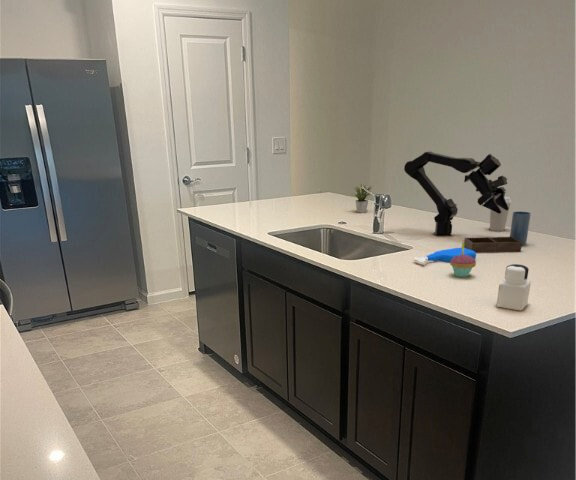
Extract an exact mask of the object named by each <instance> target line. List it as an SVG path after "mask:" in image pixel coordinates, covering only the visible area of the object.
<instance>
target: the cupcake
mask: <svg viewBox="0 0 576 480" xmlns="http://www.w3.org/2000/svg"><path fill="white" fill-rule="evenodd" d="M461 248H462V255H457V256H455V257H454V258H452V259H451V262H449V265H450V266H451V267H452V271H453V275H454V276H455V277H458V278H467V277H469V275H470V273H471V271H472V269H473V268H475V267H476V265H477V261H476V259H473V258H472V257H470V256H467V255H464V248H465V247H464V239H462V242H461Z"/></svg>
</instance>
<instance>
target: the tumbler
mask: <svg viewBox="0 0 576 480" xmlns="http://www.w3.org/2000/svg"><path fill="white" fill-rule="evenodd" d="M511 217H512V218H511V225H510V230H509V237H513V238H515V239H517V240H519V241H521V242H522V246H527V240H528V235H529V228H530V222H531V212H528V211H512V216H511ZM522 246H521V247H522Z"/></svg>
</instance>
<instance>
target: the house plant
mask: <svg viewBox="0 0 576 480" xmlns="http://www.w3.org/2000/svg"><path fill="white" fill-rule="evenodd" d="M353 186H354V187H353V189H354V190H355V192H356V193H352V194H351V195H354V196H355V197H356V198H357V199H356V200H355V207H356V212H357V213H359V214H363V213H367V210H368V204H369V200H368V199H367V197H369V196H371V193H370V192H366V191H365V190H368V191H370V190H372V188H373V185H370V186H369V187H368V188H367V183H366V182H365V183H364V185H363V184H362V182H361V181H360V187H358V186H357V185H355V184H353ZM361 187H364V188H366V189H365V190H364V189H362V188H361Z"/></svg>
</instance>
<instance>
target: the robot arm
mask: <svg viewBox="0 0 576 480" xmlns="http://www.w3.org/2000/svg"><path fill="white" fill-rule="evenodd" d="M428 163H432V164H433V163H434V164H437V165H442V166H446V167H450V168H452V169H454V170H455V171H457V172H460V173H462V174H465V175H464V179H463V181H464V183H466V182H467V183H468V182H469V181H470V183H471V184H472V185H473V186H474V187H475V192H476V193H479V194H480V196H479V197H478V198H477V204H478V205H479V206H482V207H483V208H486V209H488V210H492V211H494V212H497V213H499V214H500V213H501V210H500V208H499V207H498V206H500V207H502V208H503V209H505V210H508V209H509V210H510V207H509V208H508V206H507V203H506V201H505V198H504V197H505V196H506V193H507V192H506V191H507V190H506V188H505V187H504V186H505V185H507V184H508V178H507V177H506V176H504V175H503V174H502V175H500V176H497V179H495V180H492V179H489V178H488V177H487V176H491V175H492V174H493V173H495V172H496V171H497V170H498V169H499V168H500V167H501V166H502V164H501V161H500V160H499V159H498V158H496V157H495V156H494V155H492V153H489V154H487V155H486V156H485V158H483V160H481V161H477V160H475V158H472V157H454V156H449V155H445V154H441V153H437V152H433V151H424V152H423V153H422V154H420V155H419V156H417V157H416V158H414V159H412V160H408V161H406V163H405V164H404V168H403V171H404V172H405V173H406V175H408V176H409V177H410V178H411V179H413V180H414V181H416V182H417V183H418V184H419V186H421V187H422V189H423V190H424V192H425V193H426V194H427V196H428V197H429V198H430V200H432V201H433V203H434V204H435V206H436V210H437V212H438V213H437V214H436V215H435V216H434V217H433V220H434V222H435V228H434V229H435V230H434V232H433V234H434V235H435V236H437V237H450V236H452V231H453V224H452V221H453V219H454V217H456V216H457V214H458V204H457V203H455V202H454V200H453V199H452V198H449V199H447V198H445V196H444V195H443V194H442V193H441V192H440V190H439V189H438V188H437V186H436V185H435V184H434V182H433V181H432V180H431V179H430V177H428V175H427V173H426V170H425V166H426V165H427V164H428Z"/></svg>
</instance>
